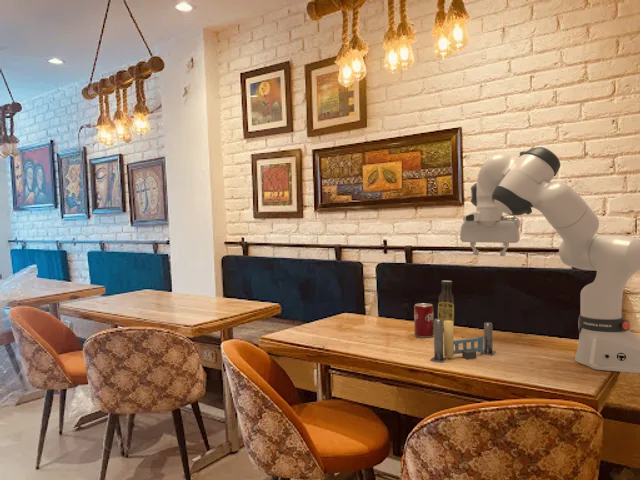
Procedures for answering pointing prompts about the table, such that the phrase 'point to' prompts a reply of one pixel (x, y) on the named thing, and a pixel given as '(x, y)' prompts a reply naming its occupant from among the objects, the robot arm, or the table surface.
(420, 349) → the table surface
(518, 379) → the table surface
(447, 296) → the sauce bottle
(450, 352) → the gate
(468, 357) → the block
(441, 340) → the post
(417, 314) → the soda can
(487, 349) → the hinge post
